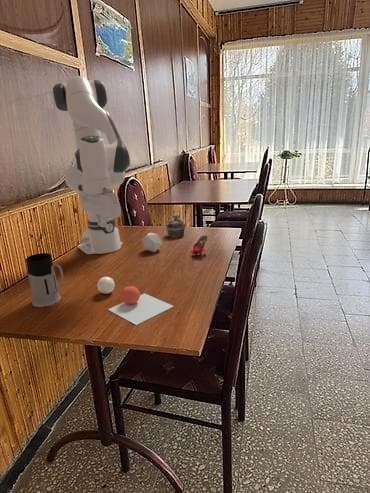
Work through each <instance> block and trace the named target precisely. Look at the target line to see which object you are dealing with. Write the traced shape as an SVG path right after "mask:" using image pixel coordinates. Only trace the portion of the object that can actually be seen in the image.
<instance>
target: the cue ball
mask: <svg viewBox="0 0 370 493" xmlns="http://www.w3.org/2000/svg"><path fill="white" fill-rule="evenodd" d="M115 286H116V284H115V280H114V279H113V278H111V277H110V276H103V277H101V278H100V279H99V280H98V281H97V285H96V287H97V291H99V292H100V293H101V294H107V295H108V294H111V292H113V290H114V289H115Z"/></svg>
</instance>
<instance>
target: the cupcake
mask: <svg viewBox="0 0 370 493" xmlns="http://www.w3.org/2000/svg"><path fill="white" fill-rule="evenodd" d="M165 227H166V228H165V229H166V231H167V235H168V237H169V238H172V239H173V238H174V239H177V238H182V237H184V236H185V229H186V223H184V220H183V219H182V216H181V215H171V216H170V218H169V220H168V222H167V225H166V226H165Z"/></svg>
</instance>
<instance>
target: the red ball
mask: <svg viewBox="0 0 370 493" xmlns="http://www.w3.org/2000/svg"><path fill="white" fill-rule="evenodd" d="M140 295H141V293H140V291H139V289H138V288H137V286H133V285H131V286H126V287H125V288H123V289H122V292H121V296H120V297H121V300H122V302H123V303H124V302H125V303H126V304H129V305H132V304H135V303H136V302H137V301H138V300H139V298H140Z"/></svg>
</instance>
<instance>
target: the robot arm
mask: <svg viewBox="0 0 370 493" xmlns="http://www.w3.org/2000/svg"><path fill="white" fill-rule="evenodd" d="M51 98H52V101H53V104H54V105H55V107H56V109H58V110H59V111H62V112H68V115H69V117H70V118H71V120H72V125H73V132H74V137H75V139H74V140H75V143H76V144H75V145H76V148H77V150H76V151H74V157H75V160H76V165H73V166H69V167H68V168H67V169H66V170H65V173H64V181H65V184H66V185H67V186H68V188H69V189H71V190H72V191H74V192H75V193H77V194H78V196H79V200H80V201H79V202H80V207H81V208H82V210H83V211H84V212H85V211H86V212H87V217H88V220H87V221H86V223H87V229H86V230H85V231H84V233H82V235H81V238H80V240H81V243H80V244H78V245H77V248H78V249H80V250H81V251H82V252H83V253H85V254H86V255H94V254H99V255H102V254H109V253H113V252H116V251H119V250H120V249H121V248H122V245H124V244H123V241H121V238H120V232H119V228H117V227H116V223H117V222H116V218H120V217H121V215H122V210H121V205H120V201H119V200H120V199H119V196H118V194H116V192H115V191H114V189H112V188H114V187H117V186H119V185H122V184H123V183H124V182H125V179H126V172H125V171H127V169H128V168H129V166H130V164H131V157H130V153H129V151H128V149H127V147H126V145H125V144H124V141H123V140H122V138H121V136H120V134H119V131H118V129H117V127H116V124H115V123H114V120H113V119H112V116H111V115H110V113H109V112H108V111H107V110H105V109H104V107H106V105H107V104H108V98H109V93H108V89H107V87H106V85H105V82H103V81H102V80H100V79H99V80H98V79H93V80H91V79H89V80H88V79H87V78H85V77H84V76H80V75H75V76H72V77H70V78H69V79H68V80H67V82H64V83H62V82H61V83H55V85H53V87H52V92H51ZM102 133H103V134H104V135H105V136H106V138H107V141H108V143H109V144H105V140H104V138H103V137H102Z"/></svg>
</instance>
